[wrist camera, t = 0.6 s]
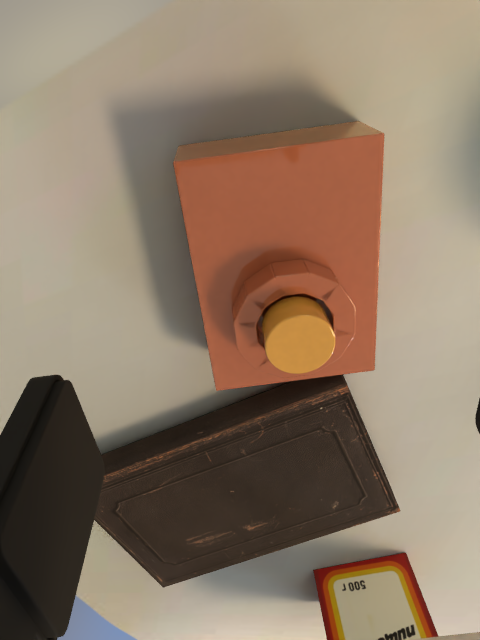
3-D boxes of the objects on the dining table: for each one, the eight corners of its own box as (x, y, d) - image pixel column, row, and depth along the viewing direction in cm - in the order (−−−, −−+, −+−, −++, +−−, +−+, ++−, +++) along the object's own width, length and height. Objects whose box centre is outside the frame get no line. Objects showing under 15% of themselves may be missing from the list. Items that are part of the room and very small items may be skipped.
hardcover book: (391, 489, 41) (400, 511, 39) (164, 564, 45) (162, 588, 43) (336, 359, 33) (344, 378, 31) (67, 463, 37) (59, 486, 35)
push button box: (177, 145, 25) (169, 170, 20) (359, 120, 25) (398, 139, 20) (215, 353, 32) (216, 410, 27) (356, 334, 32) (384, 389, 27)
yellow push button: (258, 300, 24) (262, 320, 22) (326, 291, 24) (335, 310, 22) (264, 355, 26) (268, 378, 24) (327, 347, 26) (336, 369, 24)
